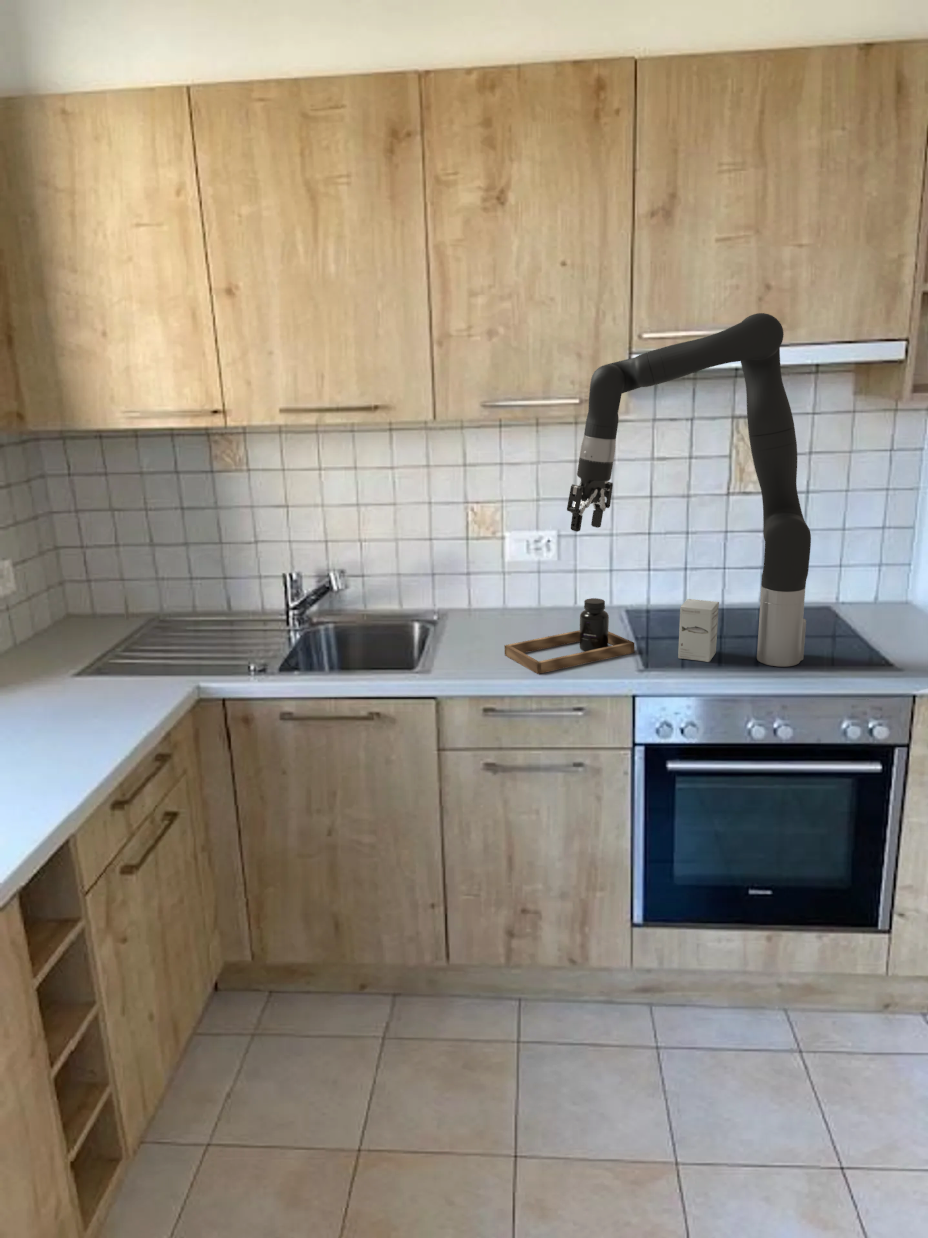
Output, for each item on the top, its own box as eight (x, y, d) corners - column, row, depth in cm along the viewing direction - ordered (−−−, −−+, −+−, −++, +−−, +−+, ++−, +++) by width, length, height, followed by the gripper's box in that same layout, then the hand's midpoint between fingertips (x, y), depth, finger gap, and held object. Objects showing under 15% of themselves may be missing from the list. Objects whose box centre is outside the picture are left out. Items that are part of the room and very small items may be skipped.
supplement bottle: (584, 654, 212) (584, 605, 208) (576, 645, 218) (576, 598, 215) (612, 652, 213) (612, 603, 209) (603, 643, 219) (603, 595, 216)
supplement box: (677, 659, 206) (678, 606, 203) (685, 649, 213) (687, 597, 209) (709, 663, 203) (711, 609, 199) (717, 653, 209) (719, 600, 206)
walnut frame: (597, 636, 224) (597, 626, 224) (634, 652, 212) (634, 642, 211) (504, 655, 213) (504, 645, 213) (537, 674, 200) (537, 663, 200)
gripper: (593, 462, 192) (582, 536, 197) (627, 458, 202) (616, 529, 207) (564, 455, 196) (554, 528, 201) (599, 452, 207) (588, 521, 212)
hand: (585, 528), depth 204 cm, fingers open, 8 cm apart
